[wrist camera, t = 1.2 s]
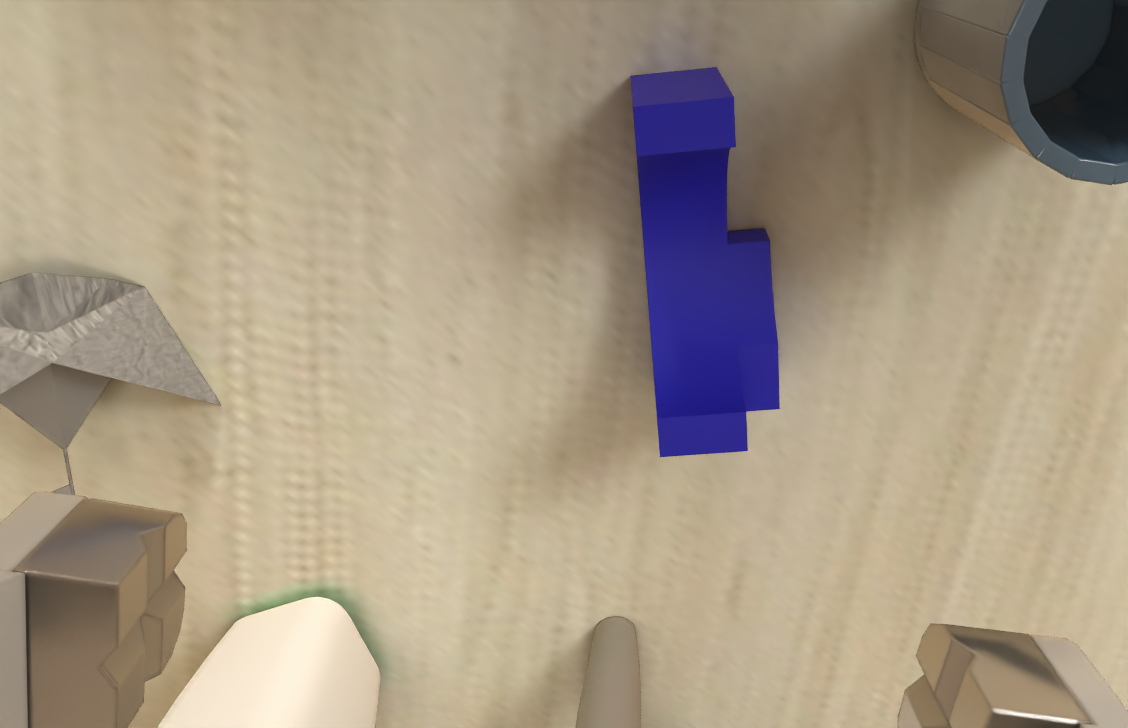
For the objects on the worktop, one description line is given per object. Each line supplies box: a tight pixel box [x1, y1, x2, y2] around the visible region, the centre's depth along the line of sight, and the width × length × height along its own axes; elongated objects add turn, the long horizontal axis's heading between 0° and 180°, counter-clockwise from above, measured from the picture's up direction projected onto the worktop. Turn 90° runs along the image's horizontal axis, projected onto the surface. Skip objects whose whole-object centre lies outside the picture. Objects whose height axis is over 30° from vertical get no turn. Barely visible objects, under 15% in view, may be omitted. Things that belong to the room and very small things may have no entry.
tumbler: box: [914, 0, 1128, 185], centre depth 31 cm, size 7×7×9 cm
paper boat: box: [0, 273, 221, 495], centre depth 40 cm, size 12×6×9 cm
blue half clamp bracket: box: [631, 67, 779, 457], centre depth 36 cm, size 12×4×6 cm, turn 6°
